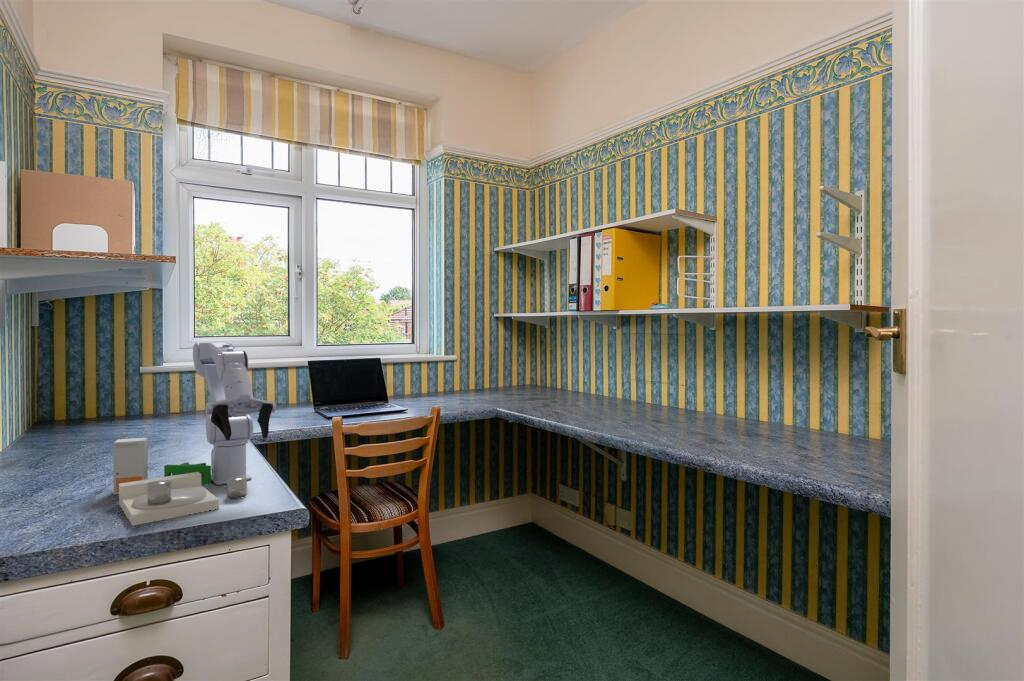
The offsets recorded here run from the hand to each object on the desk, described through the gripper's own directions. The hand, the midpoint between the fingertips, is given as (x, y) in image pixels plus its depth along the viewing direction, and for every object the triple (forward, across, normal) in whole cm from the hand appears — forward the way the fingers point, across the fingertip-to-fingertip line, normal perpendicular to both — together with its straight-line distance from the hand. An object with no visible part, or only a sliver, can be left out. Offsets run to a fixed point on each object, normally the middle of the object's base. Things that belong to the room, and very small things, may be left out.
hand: (247, 436), depth 122 cm
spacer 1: (+8, -16, +9) cm, 20 cm away
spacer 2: (+6, 0, +13) cm, 15 cm away
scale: (+7, -13, +14) cm, 20 cm away
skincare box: (-7, -18, +27) cm, 33 cm away
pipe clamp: (-8, -6, +27) cm, 28 cm away
